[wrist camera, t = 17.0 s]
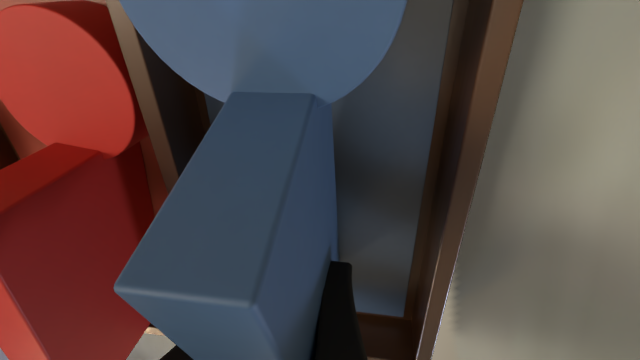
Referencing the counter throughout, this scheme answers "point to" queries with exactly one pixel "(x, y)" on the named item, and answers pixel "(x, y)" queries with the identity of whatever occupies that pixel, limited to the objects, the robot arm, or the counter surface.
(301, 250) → the blue spoon
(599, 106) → the counter surface
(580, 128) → the counter surface
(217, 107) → the sorting tray
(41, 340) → the red spoon
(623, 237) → the counter surface
